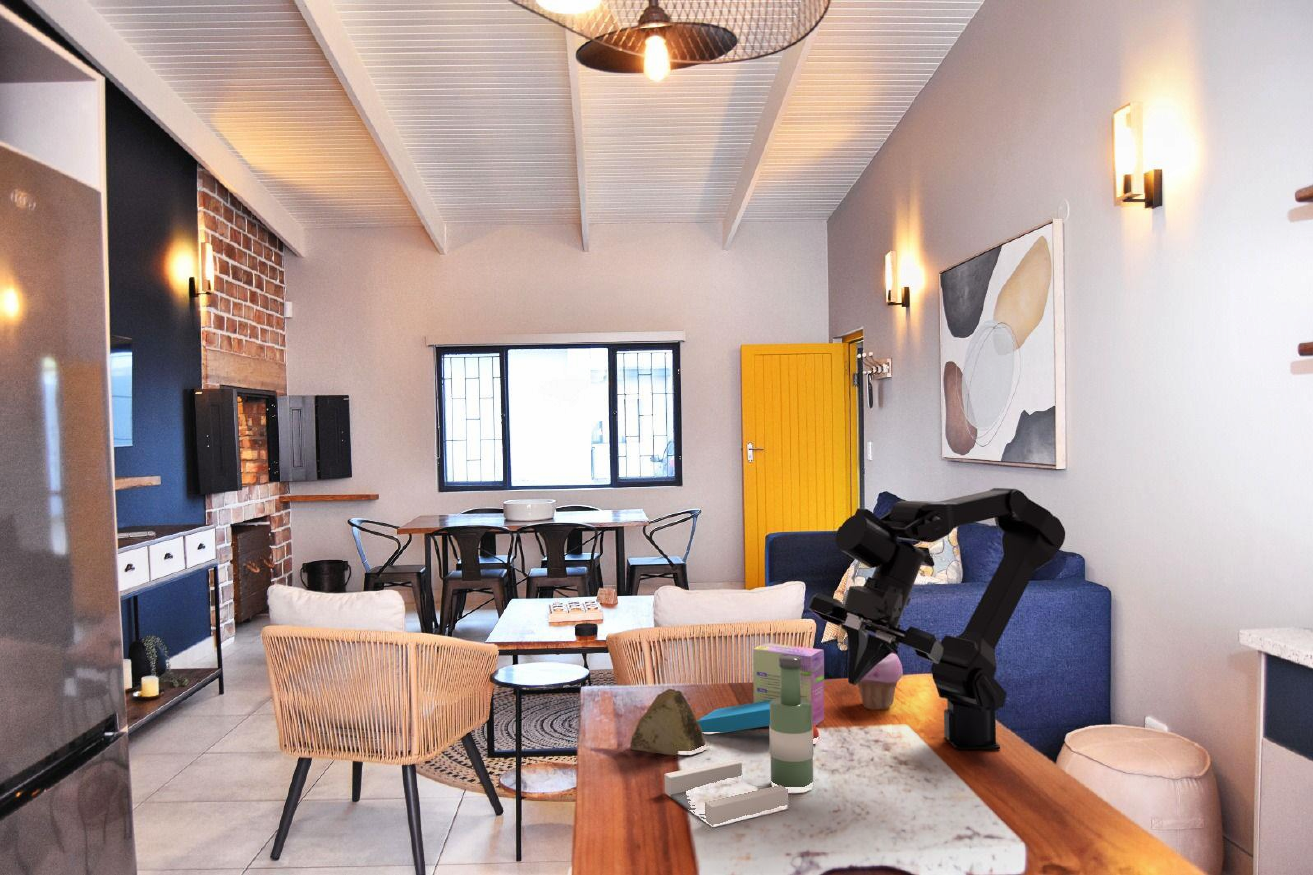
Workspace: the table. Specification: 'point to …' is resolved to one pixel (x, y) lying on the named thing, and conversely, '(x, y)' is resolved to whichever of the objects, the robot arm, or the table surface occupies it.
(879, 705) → the cupcake
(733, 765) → the rest
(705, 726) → the lever
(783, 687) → the bottle
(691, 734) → the rock
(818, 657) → the box
